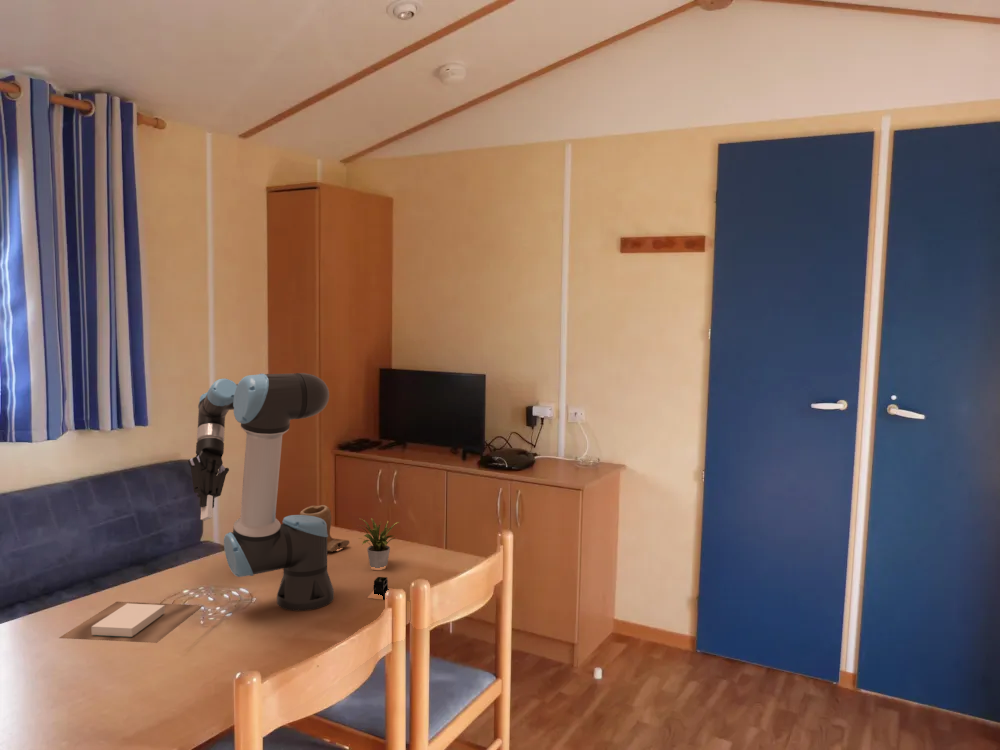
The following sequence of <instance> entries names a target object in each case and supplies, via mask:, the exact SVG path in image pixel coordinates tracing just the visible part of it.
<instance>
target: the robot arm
mask: <svg viewBox="0 0 1000 750" xmlns="http://www.w3.org/2000/svg"><path fill="white" fill-rule="evenodd" d="M329 390H330V389H329V386H328V385H327V384H326V382H325V381H324V380H323V379H322V378H320V377H318V376H316V375H314V374H310V373H306V372H298V373H297V372H296V373H257V374H250V375H245V376H244V377H242V378H241V379H240V381H238V383H236V382H235V381H233V380H231V379H228V378H219V379H217V380H215V381H213V384H212V385H211V386H210V387H209V388H208V389H207V392H205V393H203V394H202V393H201V395H200V397H199V402H198V407H197V408H198V413H197V414H198V415H197V416H198V417H197V430H196V431H197V432H196V445H195V454H196V455H195V456H194V457H192V458H190V459H188V460H187V462H188V465H189V467H190V471H191V473H190V474H191V479H192V480H191V481H192V485H193V493H194V494H197V495H196V496H197V498H199V507H200V521H204V522H205V521H208V520H211V519H213V509H214V508H215V499H216V498H218V497H220V496H221V495H222V491H223V487H224V484H225V481H226V478H227V477H226V476H227V474H228V473H229V471H230V469H229V467H225V466H224V465H223V458H222V457H223V455H224V450H225V443H224V442H225V430H226V429H225V428H226V426H225V425H226V415H227V413H229V411H232V410H233V416H234V418H235V421H236V422H238V423H239V424H240V428H241V429H242V430H243V431H244V432H245V433H246V434H245V435H246V439H245V451H244V465H243V478H242V491H241V502H240V503H241V506H240V507H241V508H240V517H239V518H237V520H235V521H234V523H233V527H232V529H233V530H232V532H228V533H226V534H225V535H224V537H223V547H224V548H223V549H224V553H225V554H224V555H225V558H226V562H227V565H228V567H229V569H230V571H231V573H232V574H233V576H235V577H238V578H242V577H248V576H249V577H253V576H254V575H258V574H260V575H261V574H264V573H269V572H274V571H279V570H283V575H282V578H281V582H280V585H279V588H278V591H277V593H276V604H277V606H278V607H280V608H282V609H284V610H288V611H296V612H297V611H302V612H303V611H310V610H311V611H312V610H316V609H320V608H322V607H325V606H327V605H329V604H330V603H332V602H333V600H334V598H335V596H334V595H335V593H334V592H335V588H334V587H333V584H332V581H331V579H330V576H329V575H330V574H329V573H328V551H327V537H328V534H327V524H326V522H325V521H324V520H323V519H321V518H318V517H315V516H308V515H300V514H291V515H287V516H284V517H283V519H282V523H281V522H280V521H279V519H277V517H276V515H277V514H276V513H277V502H278V501H277V500H278V493H279V490H278V489H279V479H280V468H281V467H280V466H281V455H282V445H283V436H284V434H286V433H287V432H288V431H289V430H290V424H291V420H300V419H307V418H310V417H314V416H316V415H318V414H319V413H321V412H322V411H323V410H324V409H325V408H326V407H327V405H328V403H329V400H330V391H329Z"/></svg>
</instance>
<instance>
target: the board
mask: <svg viewBox="0 0 1000 750" xmlns="http://www.w3.org/2000/svg"><path fill="white" fill-rule="evenodd" d="M127 603H129V604H151V605H165V613H164V614H163V615H161V616H160V617H159V618H157V619H156V620H155V621H153V622H152V623H150V624H149V625H148V626H146V627H145V628H144V629H142V630H141V631H139V632H138V633H137V634H135V635H134V636H133V637H114V636H94V635H92V628H91V627H92V626H93V625H95V624H96V623H98V622H99V621H101V620H102V619H104V618H105V617H107V616H109V615H110V614H112V613H113V612H115V611H116V610H118V609H119V608H121V607H123V606H124V605H126V604H127ZM204 606H205V605H202V604H201V605H198V604H184V603H183V604H179V603H157V602H156V603H155V602H153V603H152V602H138V601H137V602H135V601H133V602H132V601H115V602H114V603H112V604H111V605H109V606H107V607H106V608H104V609H102V610H101V611H100V612H98V613H96V614H95V615H93V616H92V617H90V618H88V619H86V620H85V621H83V622H82V623H80V624H79V625H77V626H75V627H73V628H72V629H71V630H69V631H67V632H66V633H64V634H63V635H61V636H59V637H58V638H59V639H68V640H69V639H72V640H90V641H91V640H92V641H112V642H113V641H114V642H134V643H135V642H136V643H152V644H153V643H155V644H157V643H158V642H159V641H161V640H162V639H164V638H165V637H166V636H168V635H169V634H170V633H171V632H173V631H174V629H176V628H177V627H179V626H180V625H181V624H183V623H184V622H185V621H186V620H188V619H189V618H190V617H192V616H193V615H194V614H195V613H197V612H198V611H199V610H200V609H201V608H203V607H204Z"/></svg>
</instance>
